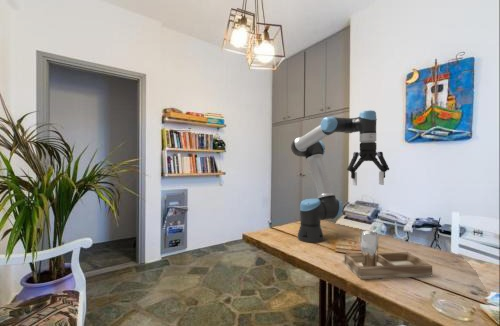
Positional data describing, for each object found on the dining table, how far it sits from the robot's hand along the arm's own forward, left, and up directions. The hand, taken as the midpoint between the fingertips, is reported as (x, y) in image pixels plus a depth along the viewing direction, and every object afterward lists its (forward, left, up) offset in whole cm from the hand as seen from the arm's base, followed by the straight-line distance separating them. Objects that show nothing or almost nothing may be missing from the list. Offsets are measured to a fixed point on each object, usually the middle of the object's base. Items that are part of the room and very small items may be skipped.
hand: (368, 184), depth 120 cm
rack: (+17, -2, -35) cm, 39 cm away
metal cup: (+17, -9, -34) cm, 39 cm away
